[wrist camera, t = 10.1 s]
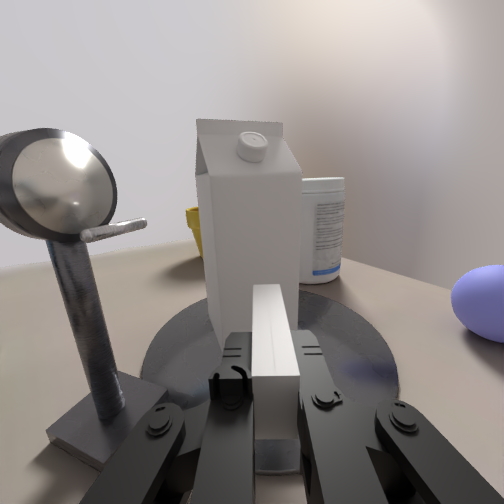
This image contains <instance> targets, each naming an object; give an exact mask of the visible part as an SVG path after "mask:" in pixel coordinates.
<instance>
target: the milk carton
mask: <svg viewBox="0 0 504 504" xmlns="http://www.w3.org/2000/svg"><path fill="white" fill-rule="evenodd" d="M196 125H197V154H196V172H195V177H196V187H197V197H198V208H199V218H200V229H201V239H202V249H203V260H204V270H205V281H206V291H207V302H208V312H209V317H210V320H211V323H212V326H213V328H214V331H215V334H216V337H217V339H218V342H219V345H220V348H221V351H222V353H223V350H224V345H225V340H226V338H227V337H228V336H229V335H230V333H231V332H252V325H253V285H262V284H280V288H281V293H282V297H283V302H284V306H285V310H286V315H287V319H288V324H289V328H290V330H297V329H298V297H299V266H300V235H301V204H302V170H301V168H300V167H299V165H298V163H297V161H296V160H295V158H294V156H293V154H292V153H291V151H290V149H289V147H288V145H287V144H286V142H285V140H284V138H283V137H282V132H283V124H282V123H278V122H257V121H236V120H213V119H196Z"/></svg>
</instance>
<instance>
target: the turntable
mask: <svg viewBox="0 0 504 504" xmlns="http://www.w3.org/2000/svg"><path fill="white" fill-rule="evenodd" d="M297 330H309V331H311V332H312V333H313V334H314V335H315V336H316V338H317V340H318V343H319V346H320V348H321V351H322V355H323V356H324V359H325V361H326V364H327V367H328V369H329V372H330V375H331V377H332V380H333V383H334V385H335V386H336V387H337V388H338V389H339V390H341V391H342V393H343V394H344V396H345V397H346V398H348V399H350V400H351V401H354V402H356V403H359V404H362V405H366V406H370V407H373V408H377V406H378V404H379V402H381V401H383V400H385V399H396V396H397V388H398V374H397V367H396V363H395V360H394V357H393V354H392V352H391V350H390V349H389V347H388V345H387V343H386V342H385V340H384V339H383V337H382V336H381V335H380V333H379V332H378V331H377V330H376V329H375V328H374V327H373V326H372V325H371V324H370V323H369V322H368V321H366V320H365V319H364V318H363V317H362V316H360V315H359V314H357V313H356V312H354V311H353V310H351V309H349V308H348V307H346V306H344V305H342V304H340V303H338V302H336V301H334V300H331V299H329V298H326V297H323V296H320V295H317V294H314V293H310V292H306V291H301V290H299V297H298V329H297ZM222 357H223V353H222V351H221V348H220V345H219V342H218V339H217V337H216V334H215V331H214V328H213V326H212V323H211V320H210V317H209V312H208V302H207V298H205V299H203V300H200V301H198V302H196V303H194V304H192V305H190V306H189V307H187V308H185V309H184V310H182V311H181V312H179V313H178V314H176V315H175V316H174V317H173V318H171V319H170V320H169V321H168V322H167V323H166V324H165V325H164V326H163V327H162V328H161V329H160V331H159V332H158V333H157V334H156V336H155V337H154V339H153V340H152V342H151V344H150V346H149V348H148V350H147V353H146V356H145V359H144V363H143V371H142V380H145V381H148V382H150V383H153V384H156V385H159V386H162V387H164V388H167V389H168V393H169V396H168V397H167V398H166V399H165V401H164V402H163V403H174V404H176V405H178V406H180V408H181V409H182V411H184V410H187V409H190V408H193V407H196V406H198V405H201V404H203V403H204V402H206V401H207V400H208V399H209V398H210V391H209V382H208V378H209V376H210V374H211V372H212V371H213V370H214V369H215V368H217V367H218V366H220V365H221V361H222ZM163 403H162V404H163ZM299 472H300V440H299V434H298V439H255V475H278V476H281V475H289V474H298V473H299Z"/></svg>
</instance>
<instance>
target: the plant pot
mask: <svg viewBox="0 0 504 504" xmlns="http://www.w3.org/2000/svg"><path fill="white" fill-rule="evenodd" d="M186 217H187V223H188V227H189V228H191V229H192V232H193V235H194V238H195V240H196V243H197V246H198V249H199V252H200V255H201V257H202V258H203V249H202V239H201V229H200V218H199V208H198V207H193V208H188V209H186Z"/></svg>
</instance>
